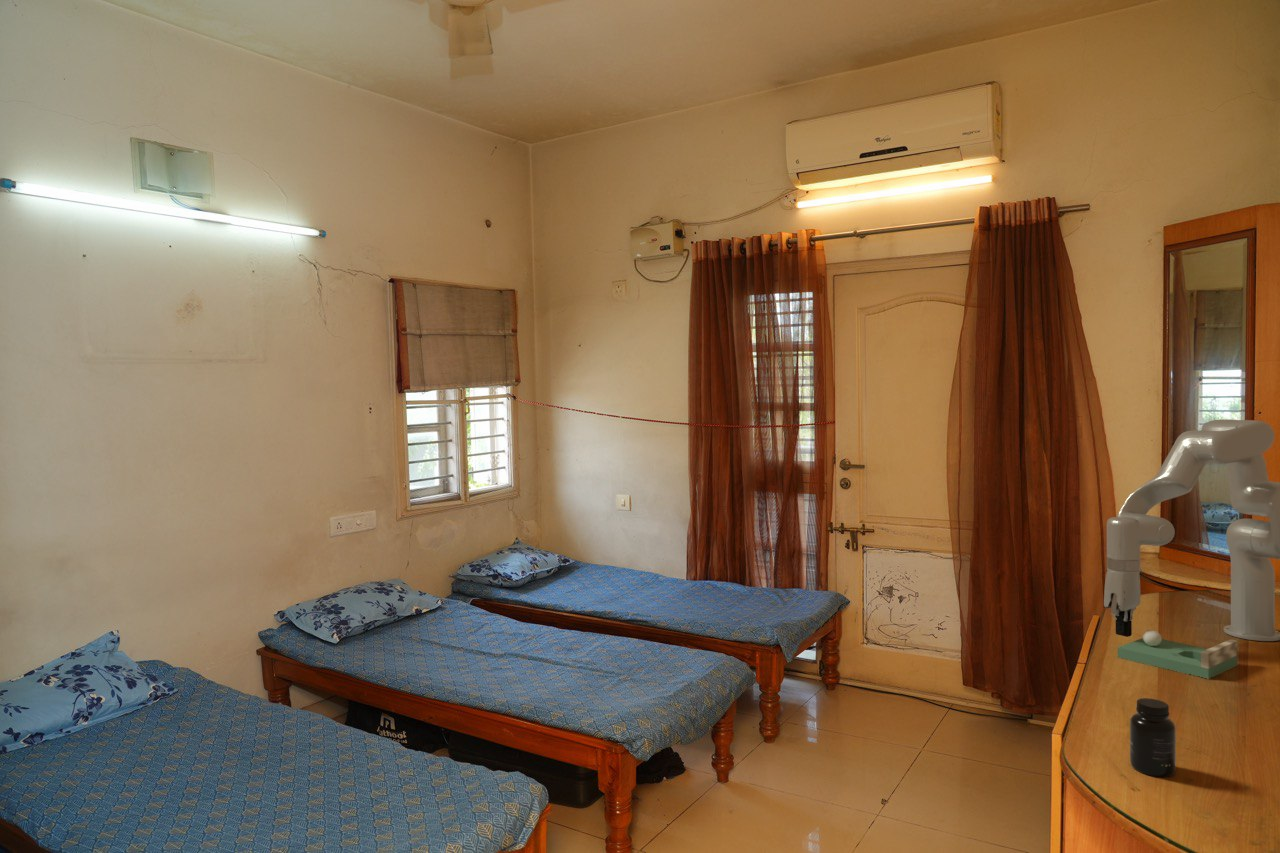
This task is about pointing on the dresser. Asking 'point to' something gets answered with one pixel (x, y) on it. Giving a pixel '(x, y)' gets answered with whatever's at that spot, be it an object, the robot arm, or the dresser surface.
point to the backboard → (1218, 653)
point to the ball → (1152, 638)
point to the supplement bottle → (1152, 739)
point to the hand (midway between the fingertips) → (1123, 634)
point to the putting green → (1173, 657)
